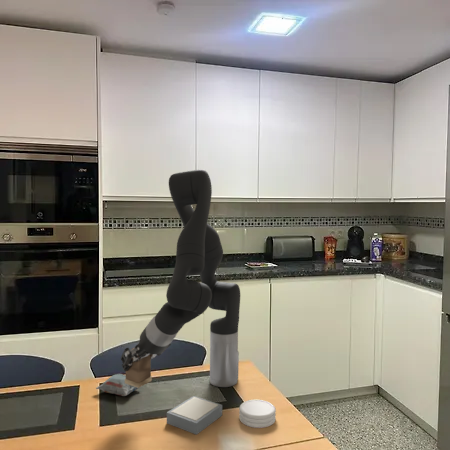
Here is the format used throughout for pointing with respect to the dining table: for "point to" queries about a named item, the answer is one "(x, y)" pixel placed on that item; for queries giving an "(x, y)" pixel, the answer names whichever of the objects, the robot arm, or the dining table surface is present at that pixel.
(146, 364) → the dome-topped square block
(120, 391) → the packaged food
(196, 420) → the dock
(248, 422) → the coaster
